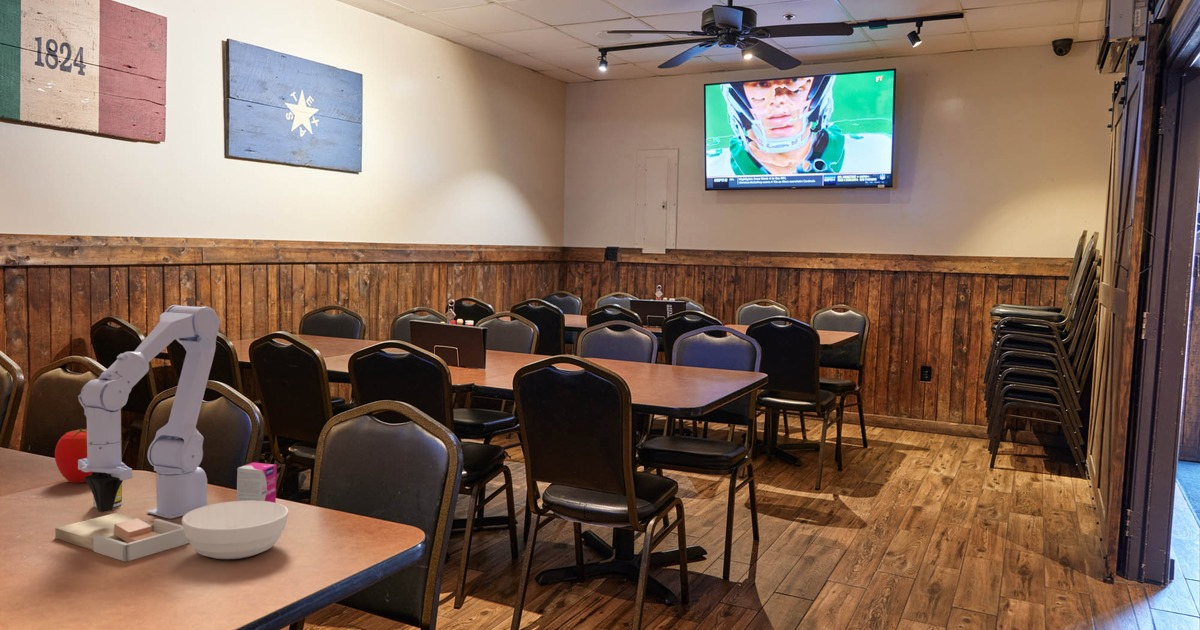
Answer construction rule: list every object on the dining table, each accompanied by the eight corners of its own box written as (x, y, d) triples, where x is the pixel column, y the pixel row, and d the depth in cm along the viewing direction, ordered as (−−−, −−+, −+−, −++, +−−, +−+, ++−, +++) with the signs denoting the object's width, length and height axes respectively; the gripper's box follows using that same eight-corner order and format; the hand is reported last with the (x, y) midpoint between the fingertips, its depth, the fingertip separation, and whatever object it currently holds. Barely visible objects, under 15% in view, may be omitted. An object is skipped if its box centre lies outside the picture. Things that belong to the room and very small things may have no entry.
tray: (157, 533, 170) (157, 518, 170) (189, 542, 166) (189, 527, 166) (93, 551, 160) (93, 535, 159) (125, 561, 155) (125, 545, 155)
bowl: (308, 544, 167) (309, 507, 167) (240, 575, 150) (240, 534, 150) (232, 531, 173) (232, 496, 173) (158, 560, 156) (158, 521, 156)
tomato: (77, 474, 213) (76, 422, 212) (118, 477, 212) (118, 425, 211) (43, 486, 201) (42, 431, 201) (86, 489, 200) (86, 434, 199)
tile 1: (136, 527, 167) (137, 518, 167) (150, 536, 165) (151, 526, 165) (113, 534, 163) (114, 524, 163) (127, 542, 161) (128, 532, 161)
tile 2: (150, 541, 165) (150, 531, 165) (165, 546, 163) (165, 535, 163) (127, 548, 161) (127, 537, 161) (142, 552, 159) (142, 542, 159)
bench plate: (116, 522, 177) (116, 512, 176) (156, 534, 170) (156, 524, 170) (55, 538, 166) (55, 527, 166) (95, 551, 160) (95, 540, 160)
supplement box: (261, 525, 178) (261, 470, 177) (235, 522, 179) (235, 467, 178) (276, 517, 183) (277, 463, 183) (251, 514, 185) (251, 461, 184)
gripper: (61, 440, 167) (62, 509, 168) (106, 450, 160) (107, 522, 161) (97, 434, 173) (99, 500, 174) (142, 443, 166) (143, 513, 167)
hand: (105, 510), depth 168 cm, fingers closed
